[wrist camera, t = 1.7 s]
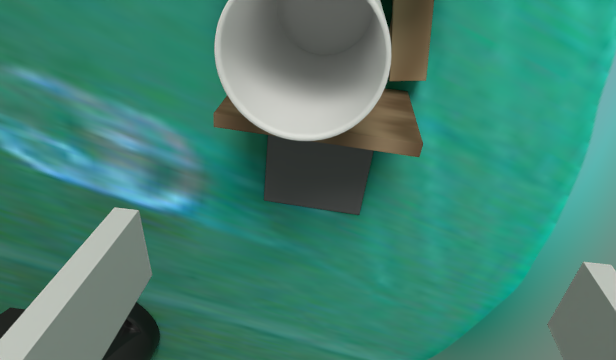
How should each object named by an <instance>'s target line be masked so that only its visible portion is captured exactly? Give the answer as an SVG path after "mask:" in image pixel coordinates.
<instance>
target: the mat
mask: <svg viewBox="0 0 616 360" xmlns="http://www.w3.org/2000/svg"><path fill="white" fill-rule="evenodd" d="M373 151H374V150H367V149H360V148H354V147H347V146H340V145H333V144H327V143H320V142H313V141H296V140H289V139H285V138H281V137H278V136H272V135H268V144H267V160H266V175H265V191H264V200H265V201H271V202H278V203H285V204H291V205H298V206H304V207H311V208H317V209H324V210H330V211H337V212H343V213H350V214H357V215H359V213H360V209H361V204H362V200H363V195H364V191H365V187H366V182H367V178H368V173H369V169H370V164H371V160H372V155H373Z"/></svg>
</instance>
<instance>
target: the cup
mask: <svg viewBox="0 0 616 360" xmlns="http://www.w3.org/2000/svg"><path fill="white" fill-rule="evenodd" d="M215 61H216V67H217V71H218V75H219V78H220V81H221V83H222V85H223V88H224V90H225V92H226V94H227V95H228V97H229V99H230V100H231V102H232V103H233V104H234V106H235V107H236V108H237V109H238V110H239V111H240V113H241V114H242V115H243V116H244V117H246V118H247V119H248V120H249V121H250V122H252V123H253V124H254V125H256V126H257V127H259V128H261V129H262V130H264V131H266V132H268V133H270V134H273V135H275V136H278V137H281V138H285V139H289V140H296V141H316V140H323V139H327V138H331V137H334V136H337V135H339V134H341V133H343V132H345V131H347V130H349V129H351V128H352V127H354V126H355V125H357V124H358V123H359V122H360V121H361V120H363V119H364V118H365V117H366V116H367V115H368V114H369V113H370V111H371V110H372V109H373V108H374V106H375V105H376V103H377V102H378V100H379V99H380V97H381V95H382V93H383V91H384V88H385V86H386V83H387V80H388V76H389V71H390V66H391V39H390V34H389V29H388V25H387V22H386V18H385V15H384V11H383V8H382V5H381V1H380V0H229V1H228V2H227V4H226V5H225V7H224V9H223V12H222V14H221V16H220V19H219V22H218V26H217V30H216V36H215Z"/></svg>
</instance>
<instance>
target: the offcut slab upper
mask: <svg viewBox="0 0 616 360" xmlns="http://www.w3.org/2000/svg"><path fill="white" fill-rule="evenodd" d="M433 5H434V0H393V3H392V22H391V66H390V71H389V79H390V81H426V75H427V65H428V55H429V45H430V35H431V25H432V15H433Z"/></svg>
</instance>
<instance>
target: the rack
mask: <svg viewBox="0 0 616 360" xmlns="http://www.w3.org/2000/svg"><path fill="white" fill-rule="evenodd" d="M214 127H218V128H225V129H232V130H239V131H245V132H252V133H259V134H266V135H272V136H275V135H273V134H270V133H268V132H266V131H264V130H262V129H261V128H259V127H257V126H256V125H254V124H253V123H252V122H250V121H249V120H248V119H247V118H246V117H244V116H243V115H242V114H241V113H240V111H239V110H238V109H237V108H236V107H235V106H234V104H233V103H232V102H231V100H230V99H229V97H228V95H227V97H226V98H225V99H224V101H223V102H222V103H221V104H220V106H219V107H218V108H217V110H216V111H215V112H214ZM313 142H320V143H327V144H333V145H340V146H347V147H354V148H360V149H367V150H374V151H381V152H387V153H394V154H401V155H408V156H415V157H419V156H420V153H421V149H422V146H423V142H422V139H421V135H420V132H419V129H418V125H417V122H416V118H415V115H414V112H413V108H412V105H411V102H410V98H409V95H408V92H407V91H400V90H393V89H386V88H384V91H383V93H382V95H381V97H380V99H379V100H378V102H377V103H376V105H375V106H374V108H373V109H372V110H371V111H370V113H369V114H368V115H367V116H366V117H365V118H364V119H363V120H361V121H360V122H359V123H358V124H357V125H355V126H354V127H352V128H351V129H349V130H347V131H345V132H343V133H341V134H339V135H337V136H334V137H331V138H327V139H323V140H316V141H313Z"/></svg>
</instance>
